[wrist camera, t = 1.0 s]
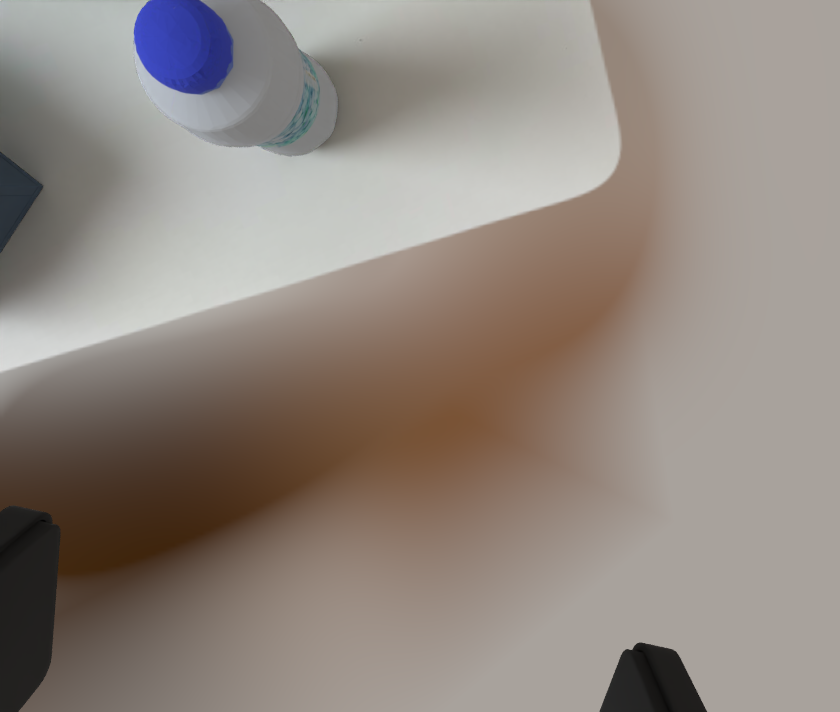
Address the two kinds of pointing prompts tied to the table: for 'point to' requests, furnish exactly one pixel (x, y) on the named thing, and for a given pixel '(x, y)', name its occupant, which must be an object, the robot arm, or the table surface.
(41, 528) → the robot arm
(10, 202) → the bin
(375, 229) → the table surface
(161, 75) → the bottle
